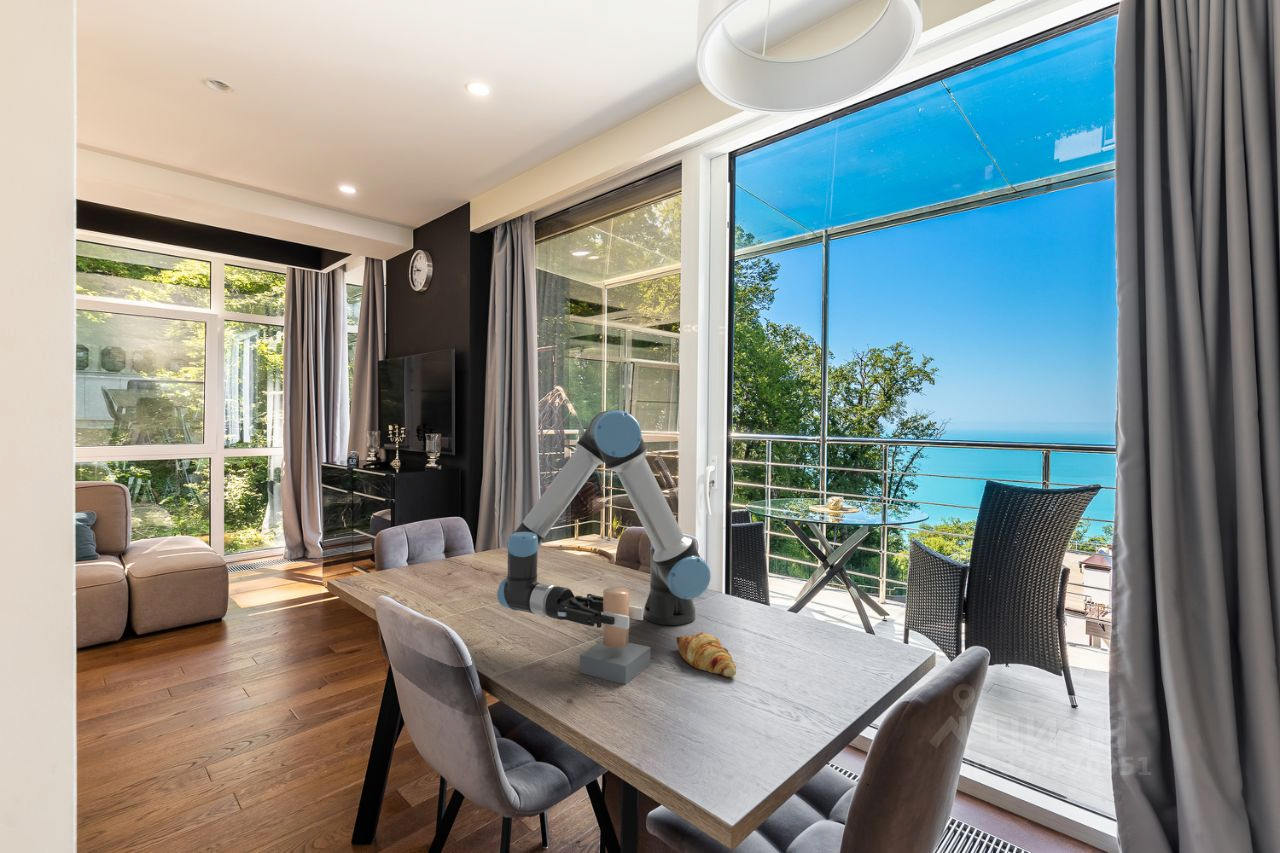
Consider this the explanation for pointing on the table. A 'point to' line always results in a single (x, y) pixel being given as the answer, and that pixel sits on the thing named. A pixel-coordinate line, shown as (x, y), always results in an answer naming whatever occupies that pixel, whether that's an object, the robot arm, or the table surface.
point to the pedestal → (615, 661)
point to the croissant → (706, 654)
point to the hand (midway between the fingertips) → (635, 618)
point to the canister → (619, 604)
